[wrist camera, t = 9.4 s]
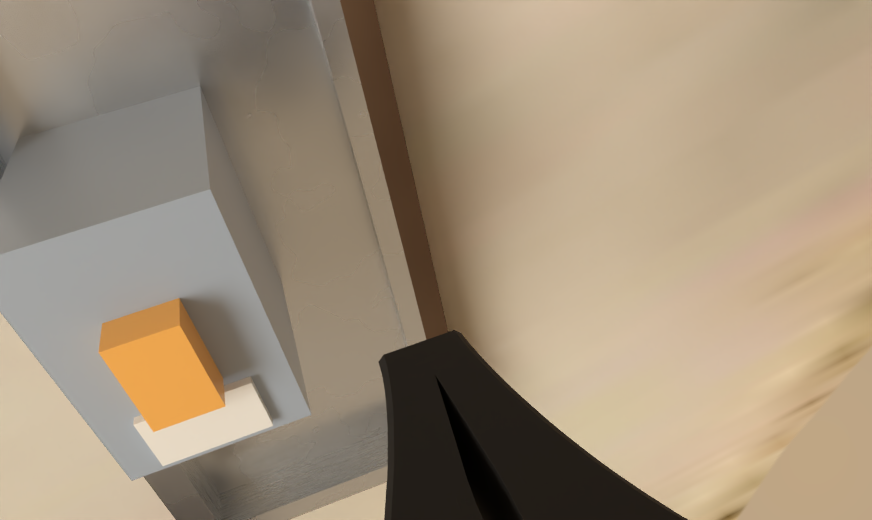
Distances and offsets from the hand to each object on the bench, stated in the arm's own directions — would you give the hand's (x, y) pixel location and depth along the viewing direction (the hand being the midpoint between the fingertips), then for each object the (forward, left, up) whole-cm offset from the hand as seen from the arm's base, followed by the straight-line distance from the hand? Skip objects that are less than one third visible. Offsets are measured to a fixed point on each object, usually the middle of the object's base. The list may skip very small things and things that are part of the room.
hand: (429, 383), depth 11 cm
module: (+4, 0, -8) cm, 9 cm away
